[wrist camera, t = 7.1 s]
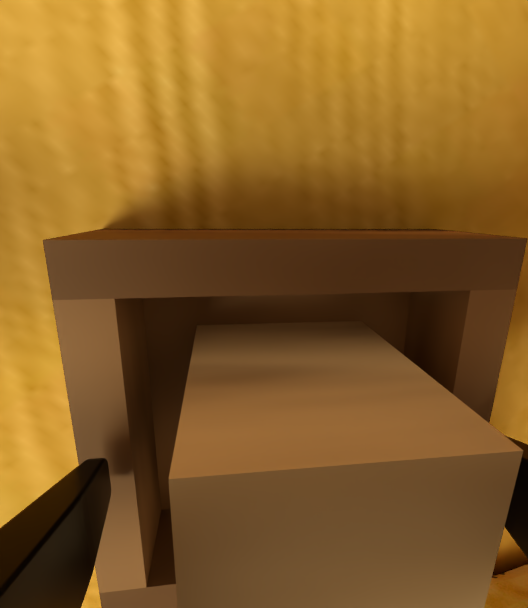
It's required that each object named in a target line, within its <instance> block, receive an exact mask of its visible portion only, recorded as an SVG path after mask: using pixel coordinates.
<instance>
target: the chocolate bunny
mask: <svg viewBox="0 0 528 608" xmlns="http://www.w3.org/2000/svg"><path fill="white" fill-rule="evenodd" d="M484 608H528V564H527V565H524V566H521V567H518V568H516V569H513V570H510V571H507V572H504V573H502V574H499V575H495V576H492V578H491V582H490V586H489V590H488V594H487V598H486V602H485V606H484Z"/></svg>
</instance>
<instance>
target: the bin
mask: <svg viewBox="0 0 528 608" xmlns="http://www.w3.org/2000/svg"><path fill="white" fill-rule="evenodd" d="M526 243H527V238H517V237H507V236H497V235H487V234H478V233H468V232H458V231H448V230H438V229H100V230H95V231H89V232H84V233H78V234H73V235H68V236H62V237H57V238H51V239H46V240H43V244H44V251H45V257H46V263H47V269H48V276H49V282H50V288H51V294H52V300H53V307H54V313H55V319H56V325H57V332H58V338H59V344H60V350H61V356H62V363H63V369H64V375H65V381H66V388H67V394H68V400H69V406H70V413H71V419H72V425H73V431H74V437H75V444H76V450H77V456H78V462H79V465H80V464H81V463H83V462H84V461H85V460H87V459H93V458H105V459H107V462H108V466H109V474H110V482H111V498H110V502H109V507H108V511H107V515H106V519H105V524H104V528H103V532H102V536H101V540H100V545H99V549H98V553H97V557H96V561H95V568H96V575H97V581H98V587H99V593H100V599H101V606H102V608H178V605H177V591H176V577H175V563H174V549H173V535H172V522H171V508H170V494H169V480H168V479H169V473H170V468H171V463H172V457H173V452H174V447H175V441H176V436H177V430H178V425H179V420H180V414H181V409H182V403H183V398H184V393H185V387H186V382H187V377H188V371H189V366H190V360H191V355H192V350H193V344H194V339H195V333H196V328H197V325H230V324H267V323H303V322H340V321H362V322H363V323H364V324H365V325H367V326H368V327H369V328H370V329H372V330H373V331H374V332H375V333H377V334H378V335H379V336H380V337H382V338H383V339H384V340H385V341H387V342H388V343H389V344H390V345H392V346H393V347H394V348H395V349H397V350H398V351H399V352H400V353H402V354H403V355H404V356H405V357H407V358H408V359H409V360H411V361H412V362H413V363H414V364H416V365H417V366H418V367H419V368H421V369H422V370H423V371H424V372H426V373H427V374H428V375H429V376H431V377H432V378H433V379H434V380H436V381H437V382H438V383H439V384H441V385H442V386H443V387H444V388H446V389H447V390H448V391H449V392H451V393H452V394H453V395H454V396H456V397H457V398H458V399H459V400H461V401H462V402H463V403H464V404H466V405H467V406H468V407H469V408H471V409H472V410H473V411H474V412H476V413H477V414H478V415H479V416H481V417H482V418H483V419H484V420H486V421H487V422H488V423H489V421H490V416H491V411H492V407H493V402H494V397H495V392H496V387H497V383H498V378H499V373H500V368H501V363H502V358H503V354H504V349H505V344H506V339H507V334H508V329H509V325H510V320H511V315H512V310H513V305H514V301H515V296H516V291H517V286H518V281H519V276H520V272H521V267H522V262H523V257H524V252H525V248H526Z"/></svg>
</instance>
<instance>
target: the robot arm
mask: <svg viewBox="0 0 528 608" xmlns="http://www.w3.org/2000/svg"><path fill="white" fill-rule="evenodd" d="M504 436H505V435H504ZM506 437H507V436H506ZM507 438H508V439H509V440H511V441H512V442H513V443H514V444H516V445H517V446H518V447H519V448H521V449H522V450H523V454H522V458H521V462H520V466H519V470H518V474H517V478H516V482H515V486H514V490H513V494H512V498H511V502H510V506H509V510H508V514H507V518H506V522H505V528H506V529H507V531H508V532H509V533H510V535H511V536H512V538H513V539H514V540H515V542H516V543H517V545H518V546H519V547H520V549H521V550H522V551H523V553H524V554H525V555H526V557H527V558H528V445H527V444H524V443H522V442H520V441H517V440H515V439H512V438H510V437H507ZM110 498H111V482H110V474H109V466H108V462H107V459H105V458H93V459H87V460H85V461H84V462H83V463H81V464H80V465H79V466H78V467H76V468H75V469H74V470H73V471H71V472H70V473H69V474H68V475H66V476H65V477H64V478H63V479H61V480H60V481H59V482H58V483H56V484H55V485H54V486H53V487H51V488H50V489H49V490H48V491H46V492H45V493H44V494H42V495H41V496H40V497H39V498H37V499H36V500H35V501H34V502H32V503H31V504H30V505H29V506H27V507H26V508H25V509H24V510H22V511H21V512H20V513H19V514H17V515H16V516H15V517H14V518H12V519H11V520H10V521H9V522H7V523H6V524H5V525H4V526H2V527H1V528H0V608H81V606H82V603H83V600H84V597H85V594H86V591H87V588H88V585H89V582H90V579H91V576H92V573H93V569H94V565H95V561H96V557H97V553H98V549H99V545H100V540H101V536H102V532H103V528H104V524H105V519H106V515H107V511H108V507H109V502H110Z"/></svg>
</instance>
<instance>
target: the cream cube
mask: <svg viewBox="0 0 528 608" xmlns="http://www.w3.org/2000/svg"><path fill="white" fill-rule="evenodd" d="M522 454H523V450H522V449H521V448H519V447H518V446H517V445H516V444H514V443H513V442H512V441H511V440H509V439H508V438H507V437H506V436H504V435H503V434H502V433H501V432H499V431H498V430H497V429H496V428H494V427H493V426H492V425H491V424H489V423H488V422H487V421H486V420H484V419H483V418H482V417H481V416H479V415H478V414H477V413H476V412H474V411H473V410H472V409H471V408H469V407H468V406H467V405H466V404H464V403H463V402H462V401H461V400H459V399H458V398H457V397H456V396H454V395H453V394H452V393H451V392H449V391H448V390H447V389H446V388H444V387H443V386H442V385H441V384H439V383H438V382H437V381H436V380H434V379H433V378H432V377H431V376H429V375H428V374H427V373H426V372H424V371H423V370H422V369H421V368H419V367H418V366H417V365H416V364H414V363H413V362H412V361H411V360H409V359H408V358H407V357H405V356H404V355H403V354H402V353H400V352H399V351H398V350H397V349H395V348H394V347H393V346H392V345H390V344H389V343H388V342H387V341H385V340H384V339H383V338H382V337H380V336H379V335H378V334H377V333H375V332H374V331H373V330H372V329H370V328H369V327H368V326H367V325H365V324H364V323H363V322H362V321H340V322H303V323H267V324H230V325H197V328H196V333H195V339H194V344H193V350H192V355H191V360H190V366H189V371H188V377H187V382H186V387H185V393H184V398H183V403H182V409H181V414H180V420H179V425H178V430H177V436H176V441H175V447H174V452H173V457H172V463H171V468H170V473H169V479H168V480H169V494H170V508H171V522H172V535H173V549H174V563H175V577H176V591H177V605H178V608H484V606H485V602H486V598H487V594H488V590H489V586H490V582H491V578H492V574H493V570H494V566H495V562H496V558H497V554H498V550H499V546H500V542H501V538H502V534H503V530H504V526H505V522H506V518H507V514H508V510H509V506H510V502H511V498H512V494H513V490H514V486H515V482H516V478H517V474H518V470H519V466H520V462H521V458H522Z"/></svg>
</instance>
